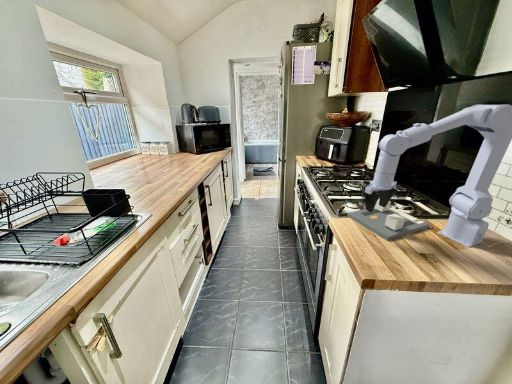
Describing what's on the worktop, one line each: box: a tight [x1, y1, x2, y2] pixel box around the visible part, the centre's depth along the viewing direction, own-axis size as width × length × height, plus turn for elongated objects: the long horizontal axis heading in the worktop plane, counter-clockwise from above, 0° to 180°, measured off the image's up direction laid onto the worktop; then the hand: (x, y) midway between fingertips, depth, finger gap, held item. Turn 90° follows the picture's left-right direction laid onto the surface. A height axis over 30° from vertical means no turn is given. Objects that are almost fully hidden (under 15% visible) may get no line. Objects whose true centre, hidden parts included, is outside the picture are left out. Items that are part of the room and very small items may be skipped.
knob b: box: [374, 198, 392, 212], centre depth 91 cm, size 4×4×4 cm
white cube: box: [385, 214, 405, 230], centre depth 78 cm, size 4×4×4 cm
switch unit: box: [346, 205, 431, 241], centre depth 86 cm, size 19×22×2 cm
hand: (375, 208), depth 76 cm, fingers open, 7 cm apart
